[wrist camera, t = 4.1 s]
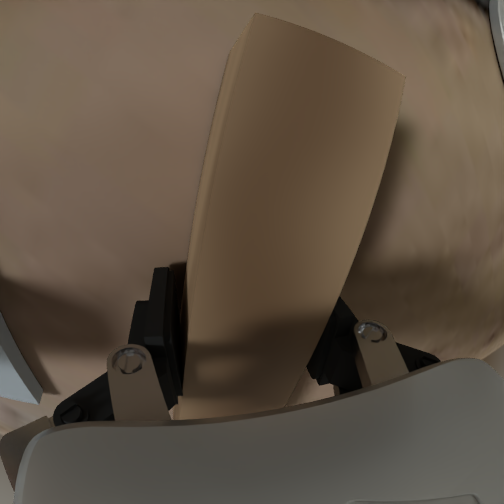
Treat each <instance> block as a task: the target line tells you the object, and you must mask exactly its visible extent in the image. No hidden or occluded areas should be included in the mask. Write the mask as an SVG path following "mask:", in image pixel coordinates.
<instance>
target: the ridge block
mask: <svg viewBox="0 0 504 504" xmlns="http://www.w3.org/2000/svg"><path fill="white" fill-rule="evenodd" d="M42 393H43V389H42V387H41V386H40V384H39V383H38V381H37V380H36V378H35V377H34V375H33V373H32V372H31V370H30V368H29V367H28V365H27V363H26V362H25V360H24V358H23V356H22V355H21V353H20V351H19V349H18V347H17V345H16V343H15V341H14V340H13V338H12V336H11V334H10V332H9V329H8V327H7V325H6V323H5V321H4V319H3V317H2V314H1V312H0V396H1V397H5V398H9V399H13V400H18V401H23V402H28V403H33V404H38V405H39V403H40V400H41V396H42Z"/></svg>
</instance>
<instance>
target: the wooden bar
mask: <svg viewBox="0 0 504 504" xmlns="http://www.w3.org/2000/svg"><path fill="white" fill-rule="evenodd" d="M405 79H406V77H405V76H404V75H402V74H400V73H399V72H397V71H395V70H394V69H392V68H390V67H389V66H387V65H385V64H383V63H381V62H380V61H378V60H376V59H374V58H372V57H370V56H368V55H366V54H364V53H362V52H360V51H358V50H356V49H354V48H352V47H350V46H348V45H346V44H343V43H341V42H339V41H337V40H334V39H332V38H330V37H327V36H325V35H322V34H320V33H317V32H315V31H312V30H309V29H307V28H304V27H301V26H298V25H295V24H292V23H289V22H286V21H283V20H280V19H277V18H273V17H270V16H266V15H263V14H259V13H255V14H254V16H253V17H252V18H251V20H250V21H249V23H248V24H247V26H246V27H245V29H244V31H243V32H242V34H241V35H240V37H239V38H238V40H237V41H236V43H235V45H234V46H233V48H232V50H231V51H230V53H229V56H228V60H227V64H226V68H225V71H224V75H223V79H222V83H221V87H220V91H219V95H218V99H217V103H216V108H215V112H214V116H213V121H212V125H211V130H210V134H209V139H208V144H207V149H206V153H205V158H204V163H203V168H202V174H201V179H200V184H199V190H198V195H197V201H196V207H195V213H194V219H193V225H192V231H191V238H190V244H189V251H188V258H187V265H186V273H185V280H184V288H183V297H182V305H181V314H180V342H181V372H182V391H183V396H178V404H177V405H175V406H173V419H174V420H187V419H202V418H214V417H224V416H232V415H240V414H248V413H255V412H261V411H267V410H273V409H279V408H284V407H285V405H286V404H287V402H288V400H289V398H290V396H291V394H292V393H293V391H294V389H295V387H296V385H297V383H298V381H299V380H300V378H301V376H302V374H303V372H304V370H305V368H306V366H307V364H308V362H309V360H310V358H311V356H312V354H313V352H314V350H315V348H316V346H317V344H318V342H319V339H320V337H321V335H322V333H323V331H324V329H325V327H326V324H327V322H328V320H329V317H330V316H331V313H332V311H333V309H334V306H335V304H336V302H337V300H338V297H339V295H340V292H341V290H342V288H343V285H344V283H345V280H346V278H347V275H348V273H349V270H350V268H351V265H352V263H353V260H354V258H355V255H356V252H357V250H358V247H359V244H360V241H361V239H362V236H363V233H364V230H365V228H366V225H367V222H368V219H369V216H370V213H371V210H372V207H373V204H374V201H375V198H376V194H377V191H378V188H379V185H380V182H381V178H382V175H383V171H384V168H385V164H386V161H387V157H388V154H389V150H390V146H391V142H392V138H393V134H394V130H395V126H396V122H397V118H398V113H399V109H400V104H401V99H402V95H403V90H404V84H405Z"/></svg>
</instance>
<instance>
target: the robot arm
mask: <svg viewBox="0 0 504 504" xmlns="http://www.w3.org/2000/svg"><path fill="white" fill-rule="evenodd" d="M489 15H490V22H491V29H492V34H493V39H494V44H495V48H496V52H497V56H498V60H499V64H500V68H501V71H502V75H503V79H504V0H490V2H489ZM306 367H307V369H308V371H309V373H310V376H311V377H312V379H316V380H317V382H318V384H319V386H320V385H324V384H329V383H330V384H333V389H334V395H335V396H333V397H329V398H325V399H321V400H317V401H313V402H309V403H304V404H299V405H294V406H289V407H284V408H279V409H273V410H267V411H261V412H255V413H248V414H240V415H232V416H224V417H214V418H202V419H187V420H171V417H170V414H169V412H168V411H169V410H170V409H171V408H172V407H173V406H175V405H177V404H178V396H183V391H182V372H181V342H180V319H179V311H178V303H177V294H176V285H175V275H174V270H172V271H169V268H168V267H160V268H154V273H153V279H152V285H151V290H150V296H149V300H148V301H137V302H136V304H135V309H134V314H133V319H132V324H131V329H130V334H129V340H128V344H127V345H123V346H119V347H118V348H116V349H114V350H113V351H112V352H111V353H110V354H109V356H108V358H107V372H106V373H104V374H103V375H101V376H100V377H98V378H97V379H95V380H94V381H92V382H91V383H89V384H88V385H86V386H85V387H83V388H82V389H80V390H79V391H77V392H76V393H74V394H73V395H71V396H70V397H68V398H67V399H65V400H64V401H62V402H61V403H60V404H59V405H58V406H57V407H56V409H55V411H54V414H53V416H52V417H50V418H48V417H47V416H44V417H42V418H40V419H38V420H35V421H33V422H31V423H29V424H27V425H25V426H23V427H20V428H18V429H16V430H14V431H12V432H9V433H7V434H6V435H4V436H3V437H2V439H1V441H0V456H1V459H2V462H3V464H4V467H5V470H6V473H7V475H8V478H9V480H10V482H11V485H12V488H13V490H14V492H15V493H14V501H13V504H504V380H503V378H502V377H501V376H500V375H499V374H498V373H497V372H496V371H495V370H494V369H493V368H492V367H491V366H490V365H489V364H487V363H486V362H484V361H482V360H480V359H475V358H456V359H450V360H446V361H442V362H441V361H440V360H439V359H438V358H437V357H436V356H434V355H432V354H430V353H427V352H424V351H421V350H417V349H414V348H411V347H408V346H405V345H402V344H399V343H396V342H395V340H394V338H393V336H392V334H391V332H390V330H389V329H388V328H387V327H386V326H385V325H384V324H382V323H380V322H378V321H374V320H362V321H358V320H357V318H356V317H355V315H354V314H353V313H352V311H351V310H350V309H349V307H348V306H347V305H346V304H345V302H344V301H343V300H342V299H341V297H340V296H339V297H338V300H337V302H336V304H335V306H334V309H333V311H332V313H331V316H330V317H329V320H328V322H327V324H326V327H325V329H324V331H323V333H322V335H321V337H320V339H319V342H318V344H317V346H316V348H315V350H314V352H313V354H312V356H311V358H310V360H309V362H308V364H307V366H306Z"/></svg>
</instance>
